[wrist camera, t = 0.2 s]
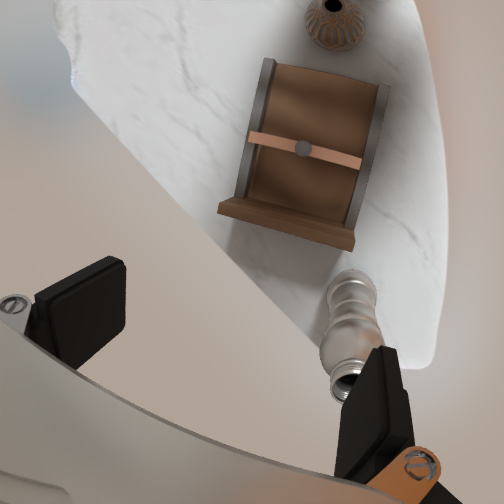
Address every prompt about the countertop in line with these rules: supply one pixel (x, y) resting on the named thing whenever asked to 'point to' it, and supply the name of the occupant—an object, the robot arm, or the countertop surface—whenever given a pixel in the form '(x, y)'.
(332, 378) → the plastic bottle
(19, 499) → the robot arm
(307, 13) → the vase
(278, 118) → the pusher lane
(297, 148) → the pusher plate
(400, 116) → the countertop surface
